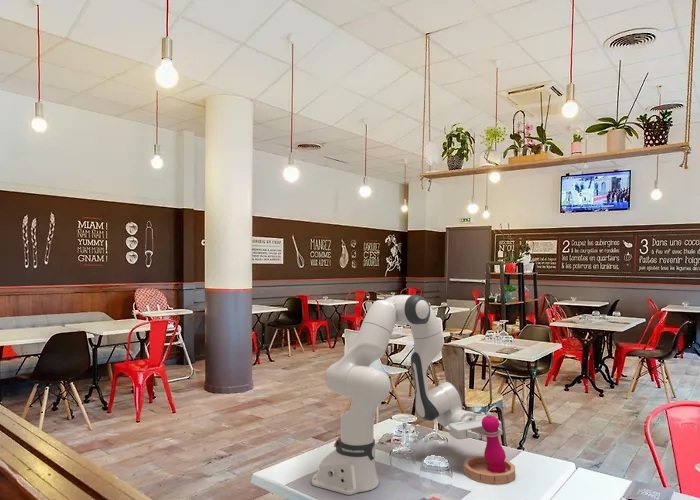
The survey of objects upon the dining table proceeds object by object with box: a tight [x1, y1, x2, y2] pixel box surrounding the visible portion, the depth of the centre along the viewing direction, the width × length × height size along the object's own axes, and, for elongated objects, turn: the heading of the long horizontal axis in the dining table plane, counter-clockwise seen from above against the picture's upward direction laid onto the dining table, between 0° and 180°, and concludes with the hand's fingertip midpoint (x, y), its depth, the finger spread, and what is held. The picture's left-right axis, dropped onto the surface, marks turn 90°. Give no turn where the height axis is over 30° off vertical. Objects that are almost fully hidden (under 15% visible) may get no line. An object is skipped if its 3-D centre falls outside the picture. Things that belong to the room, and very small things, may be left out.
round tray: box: [463, 455, 516, 485], centre depth 170 cm, size 17×17×3 cm
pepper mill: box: [482, 411, 507, 472], centre depth 171 cm, size 7×7×20 cm
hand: (490, 434), depth 170 cm, fingers open, 8 cm apart
